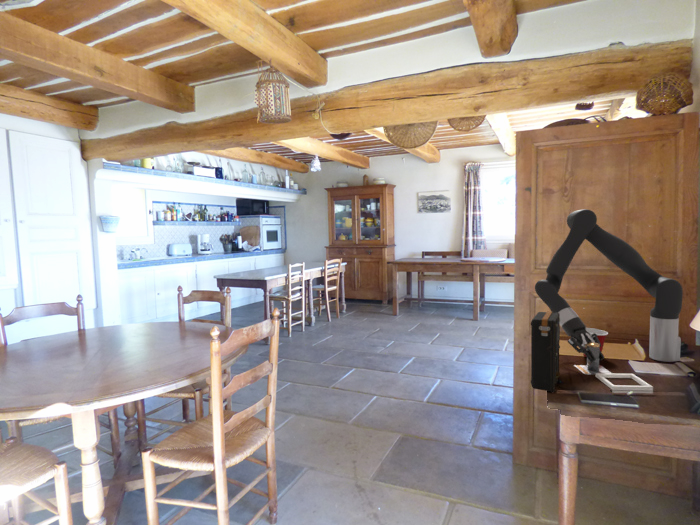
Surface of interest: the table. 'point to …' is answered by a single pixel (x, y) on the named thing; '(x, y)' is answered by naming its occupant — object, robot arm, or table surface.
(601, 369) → the plate
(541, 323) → the black carrying case
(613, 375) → the white square tray
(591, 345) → the battery cell
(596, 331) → the plastic cup
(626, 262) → the robot arm
